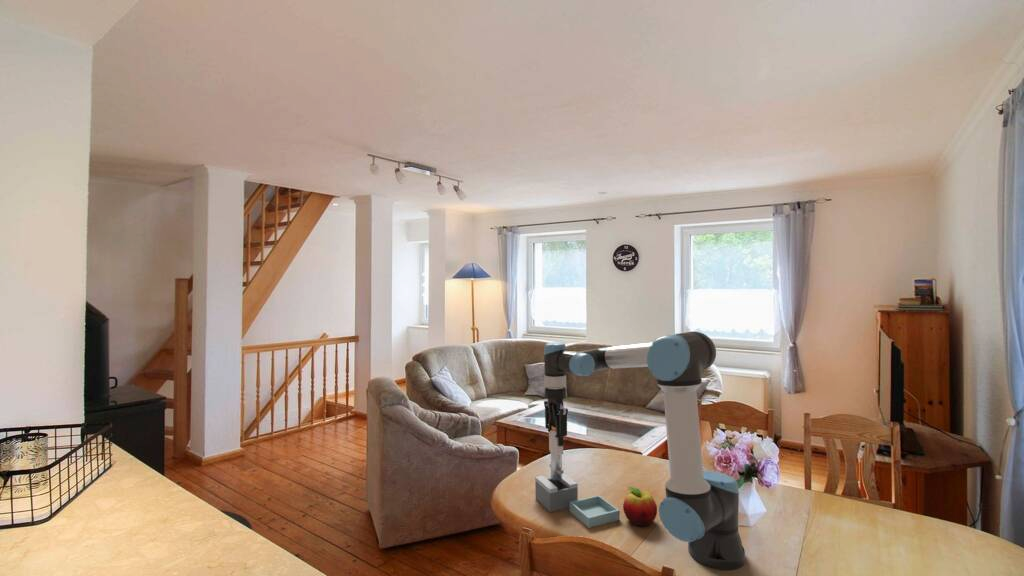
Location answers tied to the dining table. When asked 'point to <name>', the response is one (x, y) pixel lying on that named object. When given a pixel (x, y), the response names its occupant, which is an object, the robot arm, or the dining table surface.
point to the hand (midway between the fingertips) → (556, 452)
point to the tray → (594, 511)
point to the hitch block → (556, 492)
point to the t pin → (555, 457)
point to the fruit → (640, 507)
